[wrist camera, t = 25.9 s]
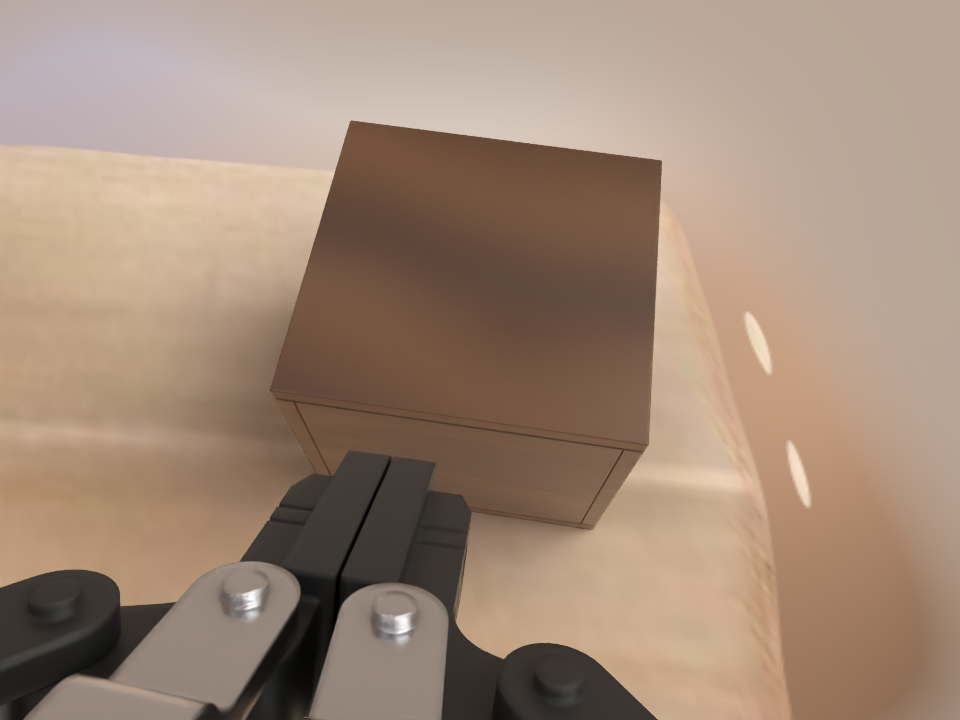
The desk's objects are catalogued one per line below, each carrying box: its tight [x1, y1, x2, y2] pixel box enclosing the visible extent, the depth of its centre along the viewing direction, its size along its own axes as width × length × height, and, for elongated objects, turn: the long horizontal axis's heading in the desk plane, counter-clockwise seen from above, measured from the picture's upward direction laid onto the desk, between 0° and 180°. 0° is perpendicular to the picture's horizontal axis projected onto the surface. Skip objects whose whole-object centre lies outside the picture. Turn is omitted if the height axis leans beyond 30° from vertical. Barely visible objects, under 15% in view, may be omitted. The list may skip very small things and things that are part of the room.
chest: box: [275, 398, 644, 529], centre depth 39 cm, size 14×15×13 cm
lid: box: [270, 121, 662, 451], centre depth 33 cm, size 14×15×1 cm
